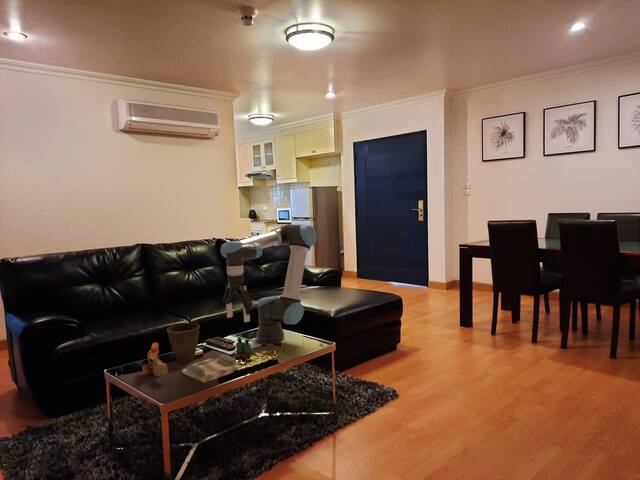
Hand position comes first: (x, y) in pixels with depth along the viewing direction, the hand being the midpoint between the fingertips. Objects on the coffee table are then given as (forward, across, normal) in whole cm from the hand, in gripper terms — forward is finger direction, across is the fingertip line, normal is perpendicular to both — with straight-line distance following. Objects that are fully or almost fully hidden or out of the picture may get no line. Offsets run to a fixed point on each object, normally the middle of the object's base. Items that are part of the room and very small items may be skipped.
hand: (238, 319), depth 207 cm
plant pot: (+21, -25, -15) cm, 36 cm away
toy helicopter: (+20, -15, -34) cm, 42 cm away
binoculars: (+21, 0, 0) cm, 21 cm away
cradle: (+20, -1, -15) cm, 25 cm away
